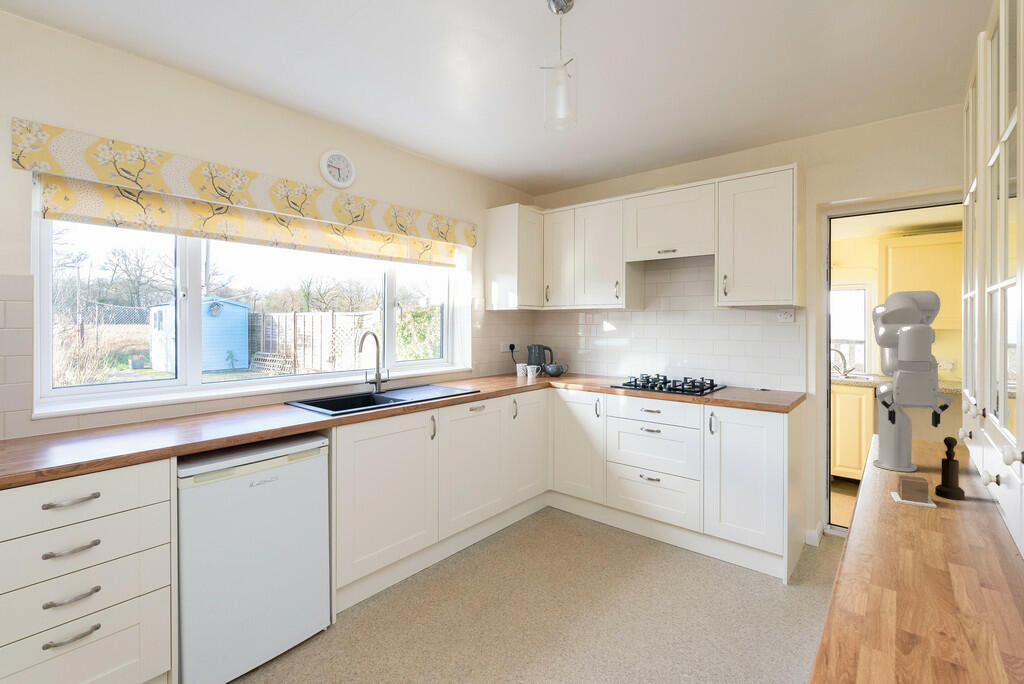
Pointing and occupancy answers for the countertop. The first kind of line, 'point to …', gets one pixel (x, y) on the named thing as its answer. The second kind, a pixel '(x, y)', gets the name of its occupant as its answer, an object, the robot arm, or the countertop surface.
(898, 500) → the tile pad
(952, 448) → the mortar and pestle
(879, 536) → the countertop surface
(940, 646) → the countertop surface
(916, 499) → the walnut cube
